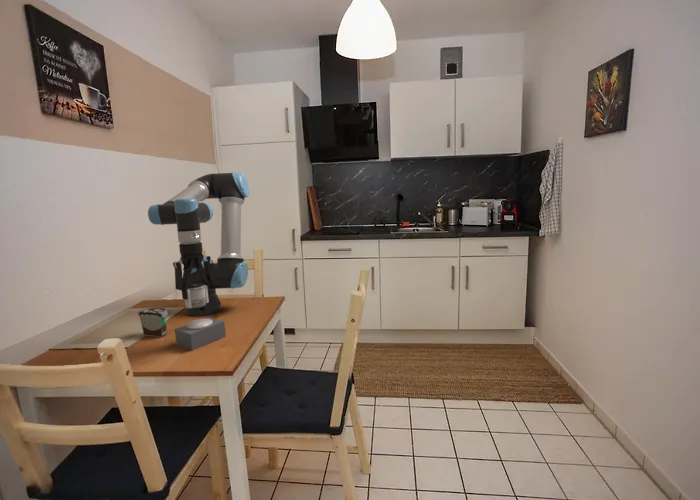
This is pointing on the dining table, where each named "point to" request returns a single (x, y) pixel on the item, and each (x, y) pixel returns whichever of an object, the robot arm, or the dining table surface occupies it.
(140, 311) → the food container
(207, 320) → the grey block with dome
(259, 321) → the dining table surface
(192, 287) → the camera lens
